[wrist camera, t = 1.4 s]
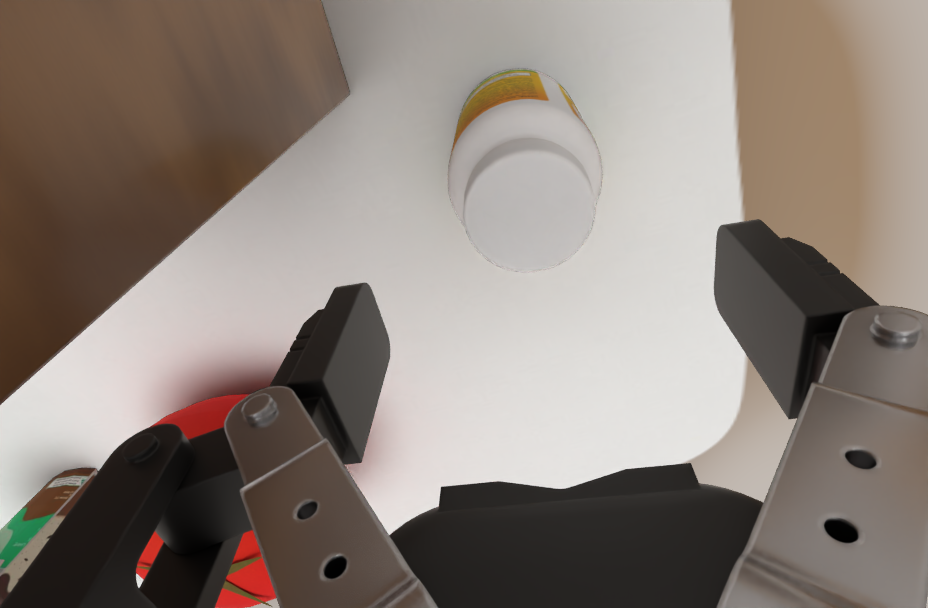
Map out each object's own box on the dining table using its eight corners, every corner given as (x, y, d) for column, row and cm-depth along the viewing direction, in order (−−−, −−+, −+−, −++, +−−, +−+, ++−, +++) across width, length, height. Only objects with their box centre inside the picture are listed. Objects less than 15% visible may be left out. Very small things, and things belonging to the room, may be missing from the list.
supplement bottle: (439, 157, 24) (411, 252, 16) (490, 43, 22) (488, 89, 14) (538, 204, 25) (559, 316, 17) (599, 101, 23) (658, 177, 15)
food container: (6, 447, 38) (-133, 583, 29) (89, 455, 38) (-26, 593, 29) (64, 543, 45) (-36, 676, 36) (135, 550, 45) (52, 685, 36)
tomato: (246, 511, 41) (178, 659, 32) (124, 401, 35) (-1, 547, 26) (403, 464, 37) (374, 619, 28) (296, 331, 31) (217, 477, 22)
